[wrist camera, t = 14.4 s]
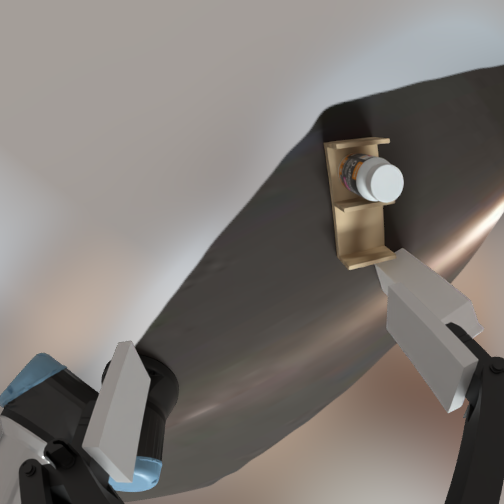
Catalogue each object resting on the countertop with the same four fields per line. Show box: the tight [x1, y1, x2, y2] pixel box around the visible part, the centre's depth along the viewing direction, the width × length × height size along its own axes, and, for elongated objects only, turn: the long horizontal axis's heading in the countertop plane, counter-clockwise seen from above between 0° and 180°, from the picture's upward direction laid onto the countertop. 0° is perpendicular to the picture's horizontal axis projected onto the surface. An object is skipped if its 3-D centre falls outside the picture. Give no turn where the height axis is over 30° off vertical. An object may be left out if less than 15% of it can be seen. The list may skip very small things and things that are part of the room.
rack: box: [324, 137, 396, 270], centre depth 44 cm, size 8×18×5 cm, turn 10°
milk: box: [375, 248, 484, 339], centre depth 41 cm, size 6×6×22 cm
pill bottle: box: [338, 153, 404, 203], centre depth 39 cm, size 6×6×10 cm
